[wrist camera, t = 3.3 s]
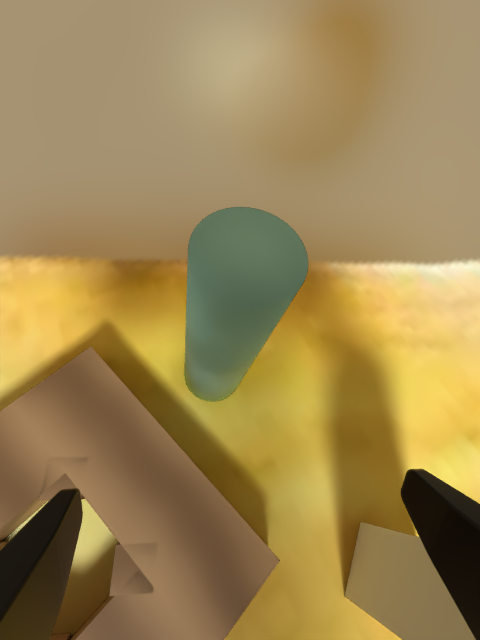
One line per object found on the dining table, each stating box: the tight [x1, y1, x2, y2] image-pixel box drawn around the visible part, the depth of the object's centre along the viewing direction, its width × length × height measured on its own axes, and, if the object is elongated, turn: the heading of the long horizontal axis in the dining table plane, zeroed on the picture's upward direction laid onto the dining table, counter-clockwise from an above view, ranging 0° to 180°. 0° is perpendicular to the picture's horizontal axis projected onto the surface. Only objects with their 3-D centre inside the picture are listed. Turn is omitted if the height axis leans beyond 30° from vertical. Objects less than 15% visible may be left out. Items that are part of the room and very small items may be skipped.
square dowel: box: [345, 522, 476, 640], centre depth 14 cm, size 4×4×12 cm
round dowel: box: [184, 207, 308, 401], centre depth 17 cm, size 4×4×14 cm
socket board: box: [0, 347, 280, 640], centre depth 16 cm, size 16×16×2 cm
